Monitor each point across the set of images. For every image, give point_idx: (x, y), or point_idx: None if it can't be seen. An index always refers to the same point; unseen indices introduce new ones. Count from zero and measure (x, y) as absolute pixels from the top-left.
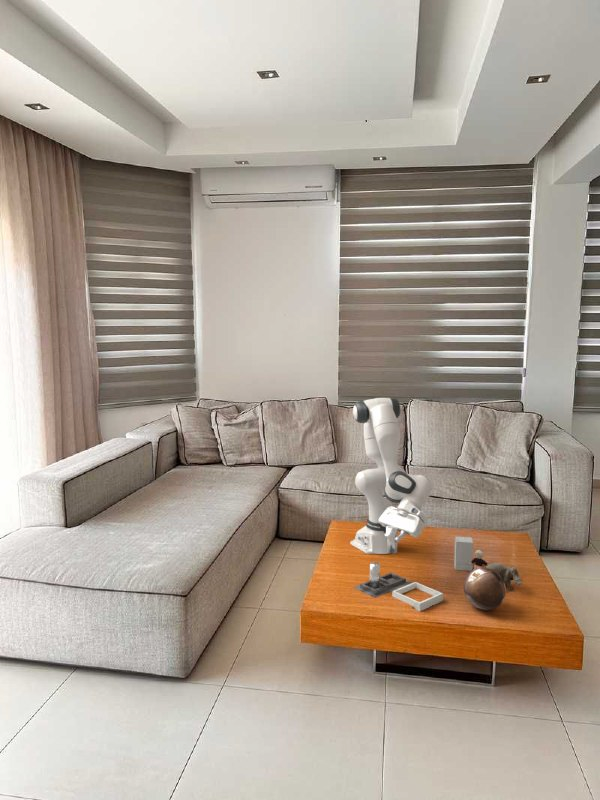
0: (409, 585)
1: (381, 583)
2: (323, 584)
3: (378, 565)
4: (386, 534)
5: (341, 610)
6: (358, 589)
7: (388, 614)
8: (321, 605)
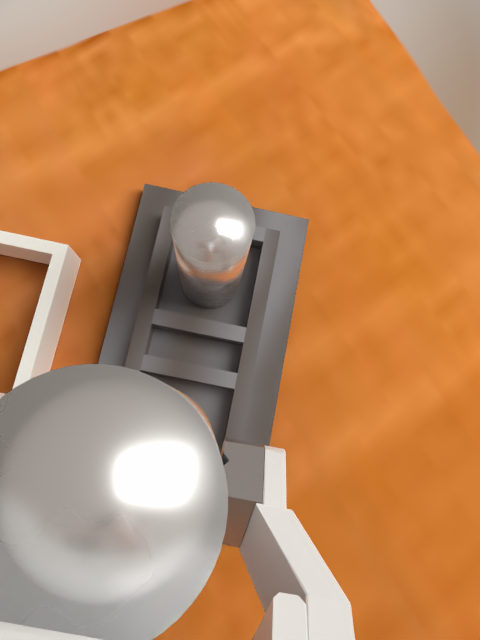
0: (14, 384)
1: (187, 315)
2: (459, 188)
3: (174, 216)
4: (253, 465)
5: (217, 22)
6: (271, 215)
7: (14, 105)
8: (316, 13)
